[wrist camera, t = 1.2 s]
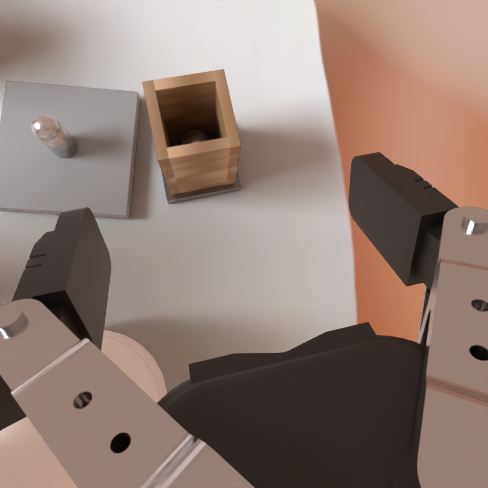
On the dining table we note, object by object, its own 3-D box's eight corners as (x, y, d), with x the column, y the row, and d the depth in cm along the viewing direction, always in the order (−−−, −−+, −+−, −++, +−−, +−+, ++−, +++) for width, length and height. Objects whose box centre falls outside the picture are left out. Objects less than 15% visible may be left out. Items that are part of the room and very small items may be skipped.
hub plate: (-3, 210, 35) (-52, 190, 29) (14, 89, 37) (-28, 44, 31) (129, 218, 36) (110, 201, 30) (140, 99, 38) (125, 58, 31)
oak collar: (171, 194, 36) (157, 160, 27) (159, 134, 36) (142, 81, 28) (234, 183, 36) (240, 145, 27) (221, 124, 37) (223, 69, 28)
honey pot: (-13, 391, 33) (-275, 499, 15) (112, 300, 35) (6, 302, 17) (73, 516, 32) (-101, 783, 15) (196, 415, 34) (176, 543, 16)
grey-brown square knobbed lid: (168, 203, 37) (161, 188, 32) (155, 135, 37) (146, 110, 33) (240, 190, 37) (243, 173, 32) (225, 123, 38) (226, 97, 33)
